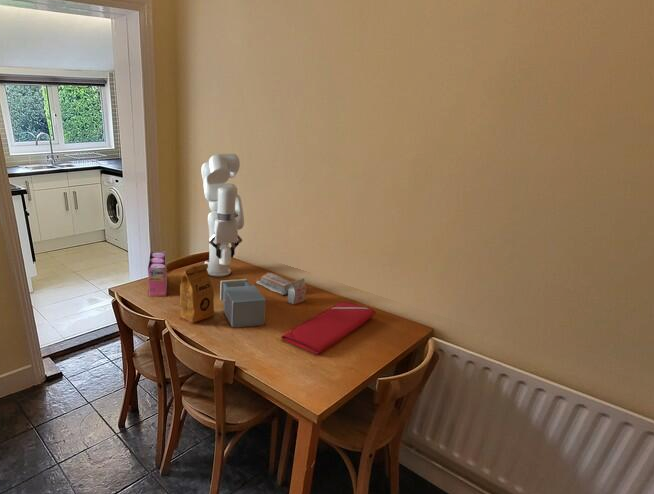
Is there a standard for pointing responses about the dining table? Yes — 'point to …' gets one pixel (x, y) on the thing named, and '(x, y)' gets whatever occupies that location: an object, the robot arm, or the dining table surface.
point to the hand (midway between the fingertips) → (225, 256)
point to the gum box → (157, 274)
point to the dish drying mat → (328, 327)
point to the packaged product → (275, 283)
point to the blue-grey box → (244, 306)
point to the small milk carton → (297, 292)
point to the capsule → (225, 255)
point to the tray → (231, 285)
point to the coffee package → (196, 294)
